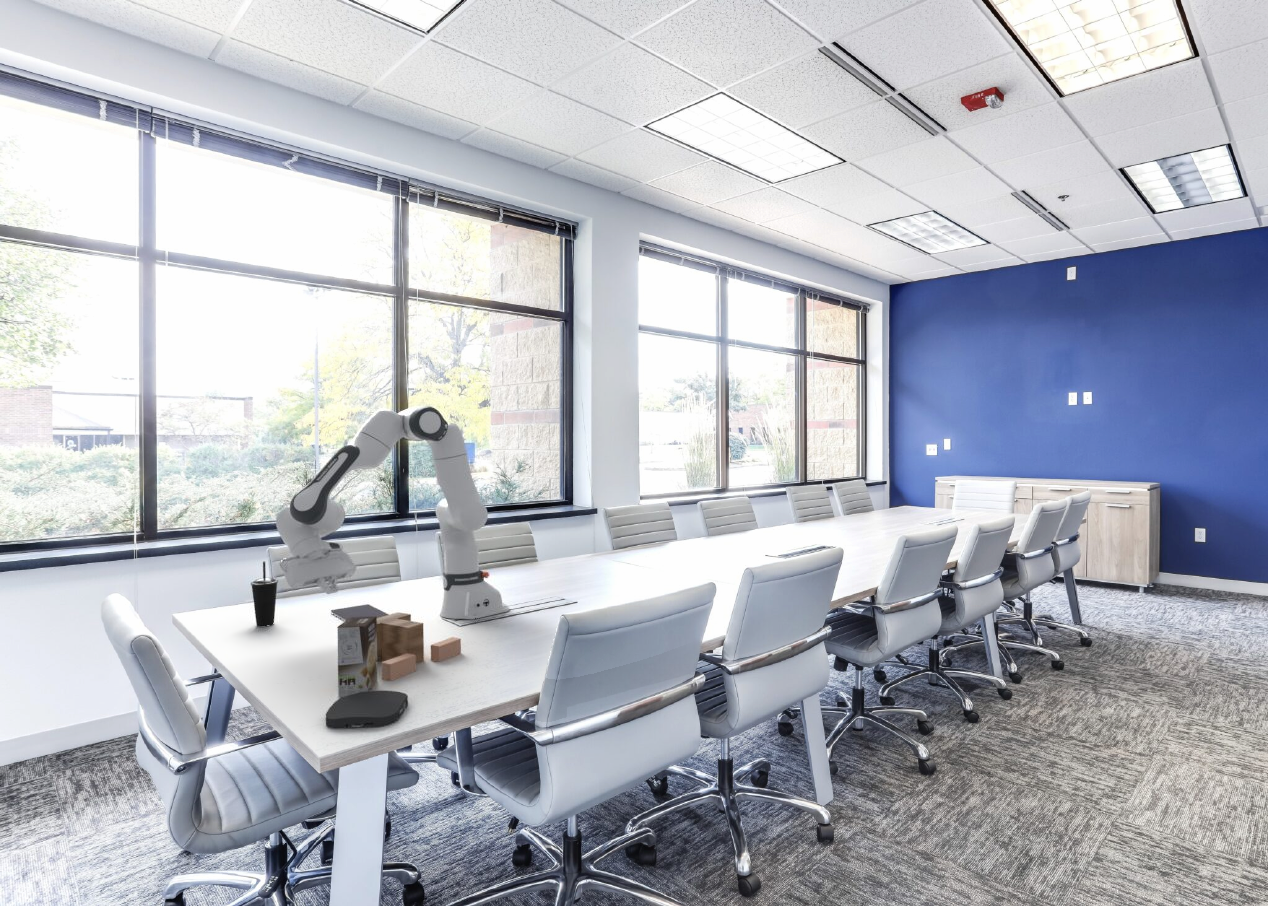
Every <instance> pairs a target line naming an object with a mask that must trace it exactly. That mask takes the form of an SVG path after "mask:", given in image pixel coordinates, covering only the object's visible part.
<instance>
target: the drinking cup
mask: <svg viewBox="0 0 1268 906" xmlns="http://www.w3.org/2000/svg"><path fill="white" fill-rule="evenodd" d="M266 572H267V571H266V561H262V577H261V578H258V579H256V580H253V581H251V582H250V585H251V590H252V591H251V592H252V597H253V598H252V599H253V606H254V616H255V622H256V623H255V624H256V627H258V626H265V627H268V626H267V625H271V626H273V625H274V624H275V616H276V615H275V612H276V602H277V591H278V590H277V589H278V583H279V580H278V579H276V578H272V577H267V576H266ZM273 623H274V624H273ZM272 624H273V625H272Z"/></svg>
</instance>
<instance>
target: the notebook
mask: <svg viewBox="0 0 1268 906" xmlns="http://www.w3.org/2000/svg"><path fill="white" fill-rule="evenodd" d="M330 613H333V614H334V615H336V616H337V617H336V616H335V617H336V618H338V617H339V618H341V619H342V620H341V619H340V620H341V621H343V620H344V621H346V620H348V619H349V618H351V617H377V618H380V617H383V616H387V615H390V614H389V613H387V612H385V611H383V610H381V609H378V608H376V607H374V606H373V605H370V604H362V605H361V604H360V605H355V606H348V607H342V608H337V609H331V610H330ZM333 614H332V615H333ZM334 615H333V616H334ZM339 618H338V619H339ZM344 621H343V622H344Z"/></svg>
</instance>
